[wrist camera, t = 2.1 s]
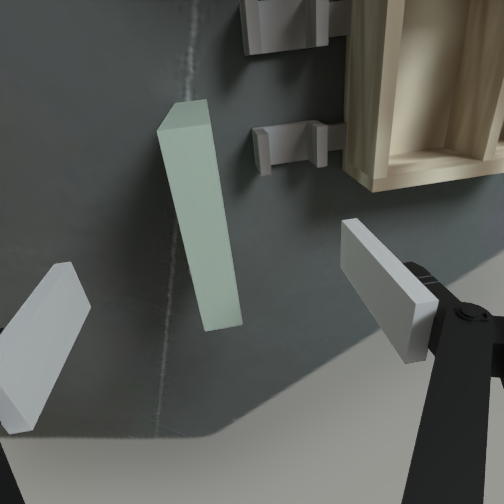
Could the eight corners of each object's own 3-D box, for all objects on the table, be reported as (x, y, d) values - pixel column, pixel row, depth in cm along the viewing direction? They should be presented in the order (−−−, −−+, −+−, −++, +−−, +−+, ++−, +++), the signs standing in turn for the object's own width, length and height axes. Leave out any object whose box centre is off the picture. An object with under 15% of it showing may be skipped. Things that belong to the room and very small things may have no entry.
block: (196, 243, 31) (195, 333, 21) (166, 104, 25) (142, 133, 15) (228, 238, 31) (242, 324, 21) (206, 99, 25) (210, 123, 15)
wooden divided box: (257, 182, 29) (269, 208, 24) (236, -24, 22) (247, -51, 17) (511, 144, 30) (575, 161, 25) (569, -59, 23) (675, -95, 18)
